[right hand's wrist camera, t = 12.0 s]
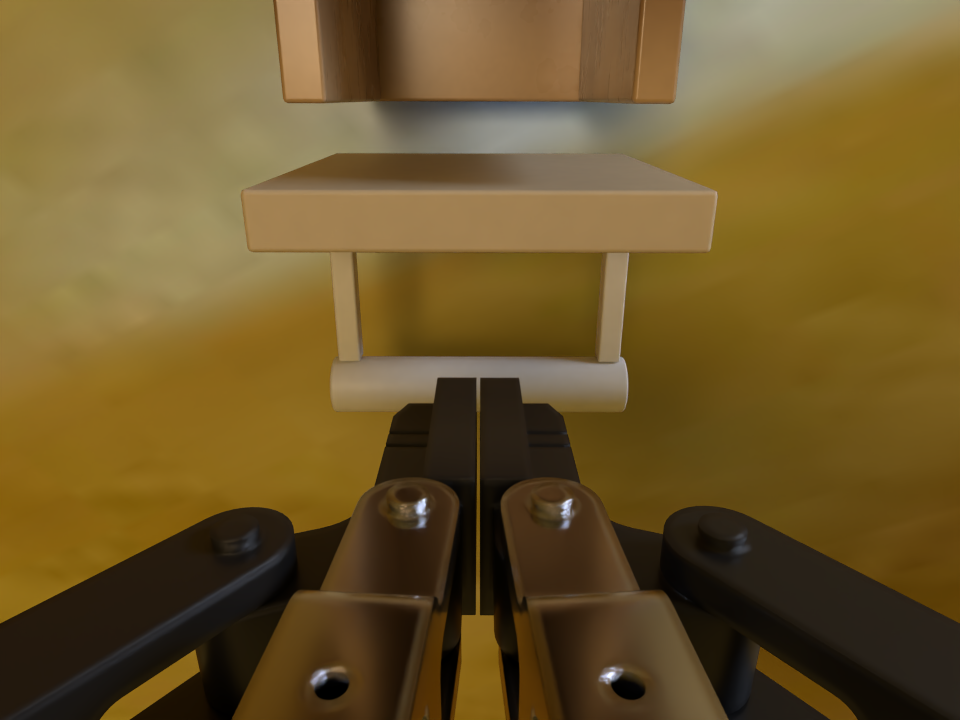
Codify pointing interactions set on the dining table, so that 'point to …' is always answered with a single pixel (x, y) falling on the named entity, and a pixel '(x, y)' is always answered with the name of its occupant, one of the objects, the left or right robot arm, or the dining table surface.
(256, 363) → the dining table surface
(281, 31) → the drawer
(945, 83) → the dining table surface
